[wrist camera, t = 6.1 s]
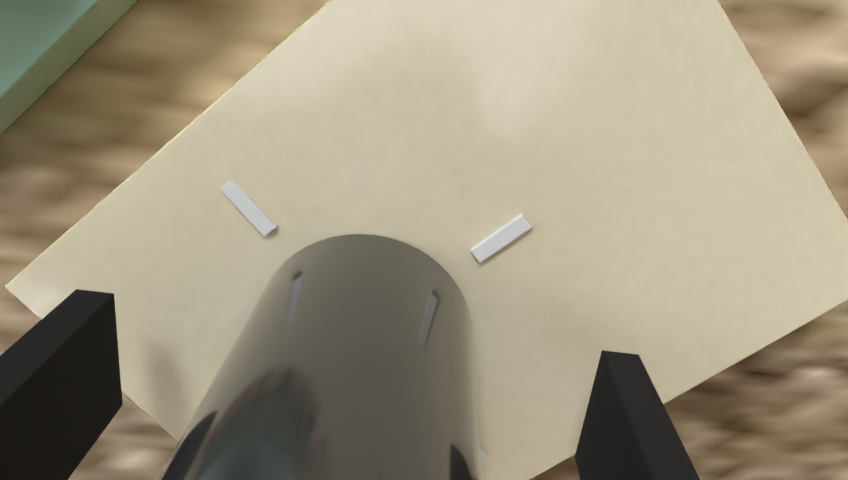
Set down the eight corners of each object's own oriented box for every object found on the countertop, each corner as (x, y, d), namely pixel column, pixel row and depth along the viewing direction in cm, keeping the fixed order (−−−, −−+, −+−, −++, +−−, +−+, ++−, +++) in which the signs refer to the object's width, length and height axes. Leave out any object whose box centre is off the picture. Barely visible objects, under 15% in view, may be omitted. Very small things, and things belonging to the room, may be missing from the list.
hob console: (354, 508, 22) (339, 592, 19) (70, 237, 18) (-2, 290, 15) (815, 230, 17) (888, 283, 15) (558, -188, 14) (587, -228, 11)
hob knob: (351, 450, 17) (272, 855, 9) (214, 312, 16) (-15, 654, 8) (514, 350, 16) (578, 722, 8) (380, 188, 14) (300, 453, 7)
